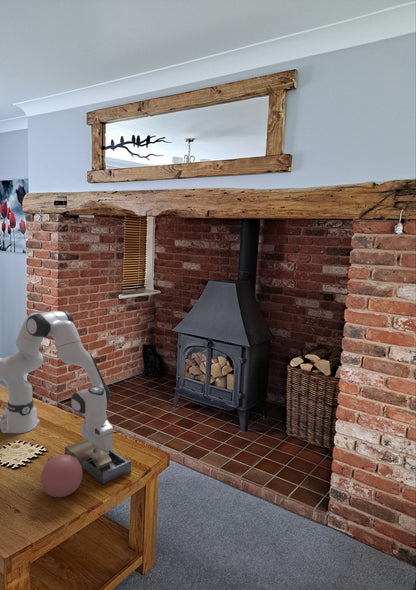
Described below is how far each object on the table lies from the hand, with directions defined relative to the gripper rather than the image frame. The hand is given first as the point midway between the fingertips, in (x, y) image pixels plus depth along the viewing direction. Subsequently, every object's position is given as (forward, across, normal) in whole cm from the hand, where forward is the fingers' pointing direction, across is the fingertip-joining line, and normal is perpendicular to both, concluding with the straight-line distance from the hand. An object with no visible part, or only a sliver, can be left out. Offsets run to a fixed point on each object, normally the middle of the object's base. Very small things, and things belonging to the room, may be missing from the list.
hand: (96, 452), depth 189 cm
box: (+5, +8, 0) cm, 9 cm away
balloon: (+5, +8, -21) cm, 23 cm away
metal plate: (+5, -8, 0) cm, 10 cm away
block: (+2, +4, 0) cm, 4 cm away
